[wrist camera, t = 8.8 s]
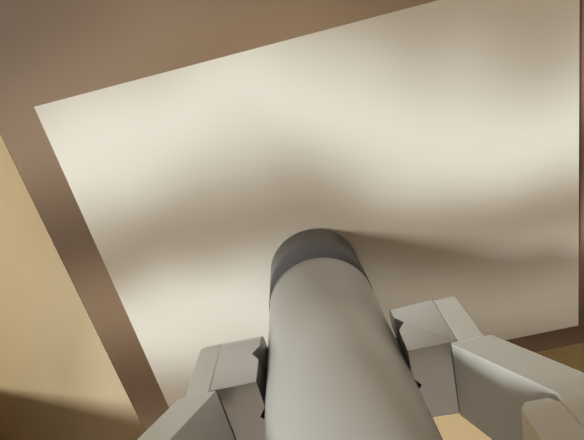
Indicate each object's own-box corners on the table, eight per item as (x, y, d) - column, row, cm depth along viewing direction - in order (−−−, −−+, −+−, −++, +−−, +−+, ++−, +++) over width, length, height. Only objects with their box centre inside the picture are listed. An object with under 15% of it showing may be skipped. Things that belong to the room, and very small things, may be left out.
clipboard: (596, 320, 17) (635, 352, 15) (152, 410, 18) (136, 450, 16) (608, -213, 11) (675, -271, 9) (-51, -21, 12) (-113, -37, 10)
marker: (367, 300, 14) (701, 1087, 3) (282, 319, 15) (292, 1145, 3) (350, 218, 14) (737, 906, 2) (259, 240, 14) (158, 999, 2)
